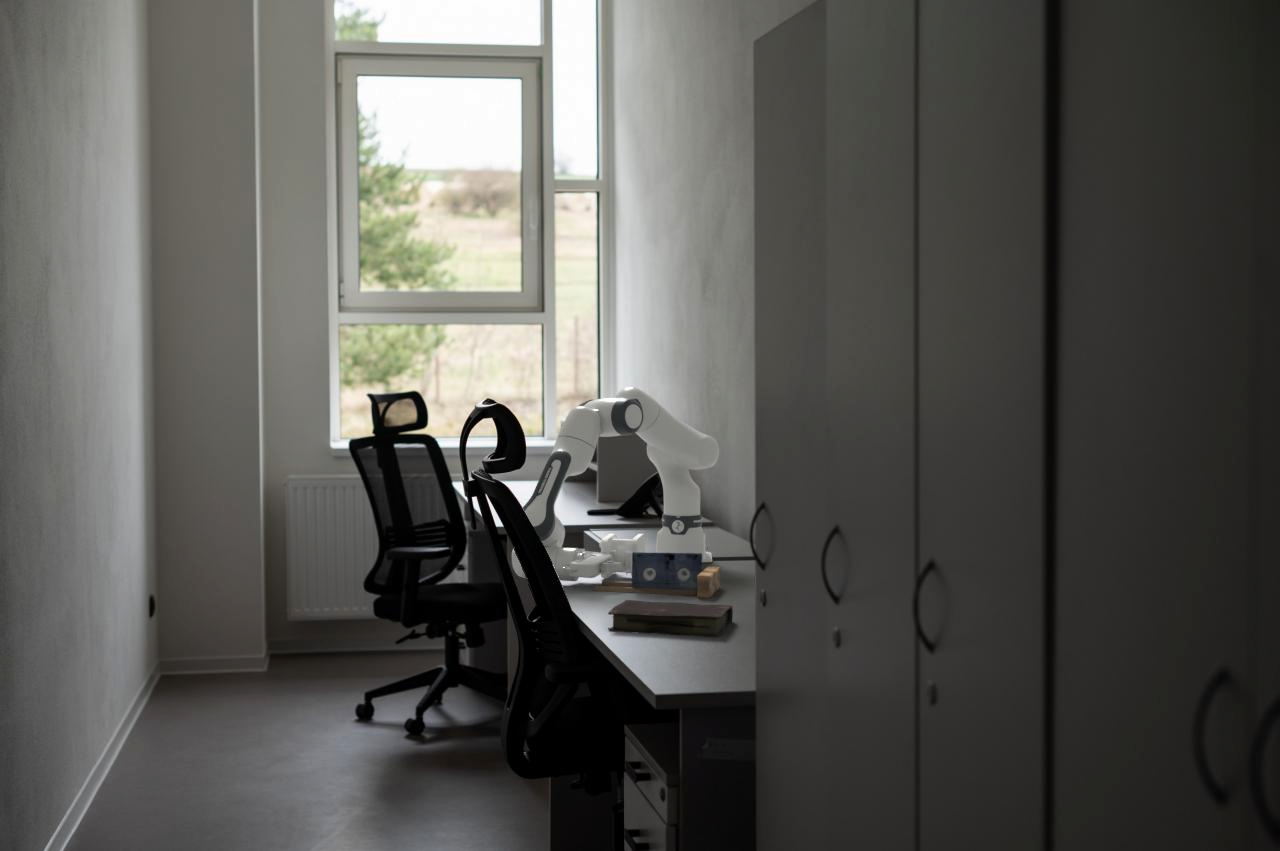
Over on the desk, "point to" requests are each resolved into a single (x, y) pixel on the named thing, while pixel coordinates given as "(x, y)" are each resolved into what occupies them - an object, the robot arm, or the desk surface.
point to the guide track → (705, 589)
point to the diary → (671, 618)
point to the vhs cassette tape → (666, 570)
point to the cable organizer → (621, 551)
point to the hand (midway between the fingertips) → (621, 566)
